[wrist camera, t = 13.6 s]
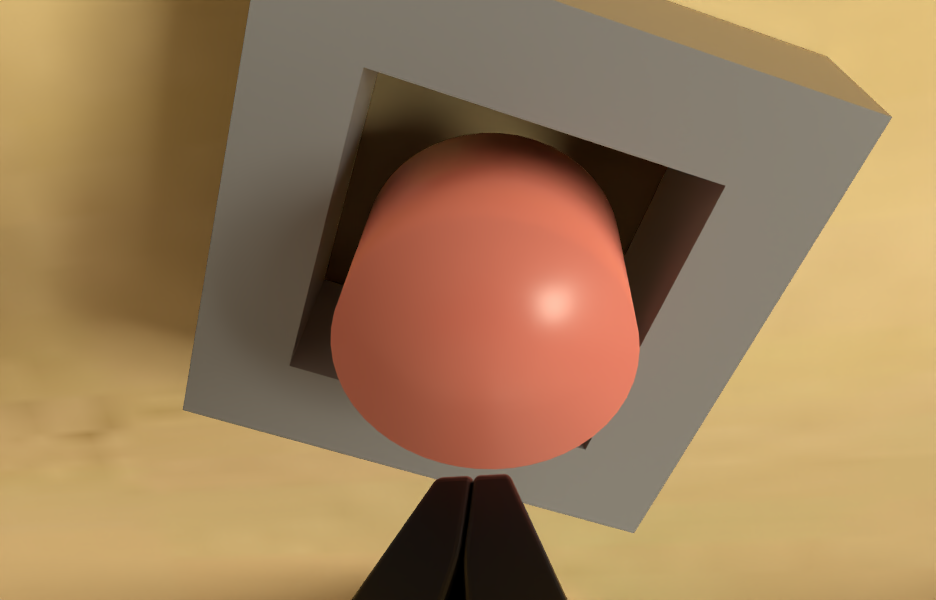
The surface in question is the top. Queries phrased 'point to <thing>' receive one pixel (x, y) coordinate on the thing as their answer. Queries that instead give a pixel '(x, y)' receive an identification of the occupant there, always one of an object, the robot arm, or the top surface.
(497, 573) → the robot arm
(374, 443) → the button box
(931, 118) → the top surface
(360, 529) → the top surface
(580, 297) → the button
